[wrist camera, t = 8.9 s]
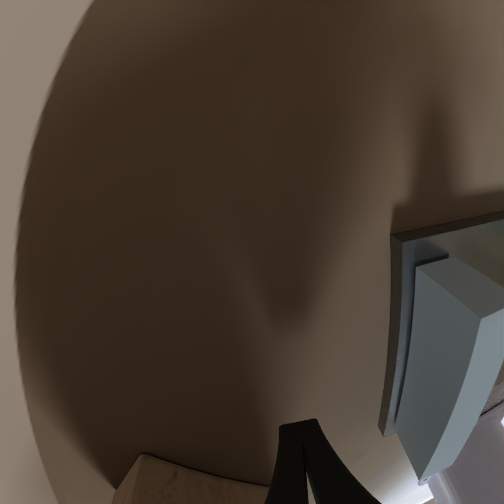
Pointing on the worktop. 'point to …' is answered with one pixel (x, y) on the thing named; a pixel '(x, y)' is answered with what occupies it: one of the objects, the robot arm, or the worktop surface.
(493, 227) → the vise
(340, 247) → the worktop surface
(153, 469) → the wooden block
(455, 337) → the block
